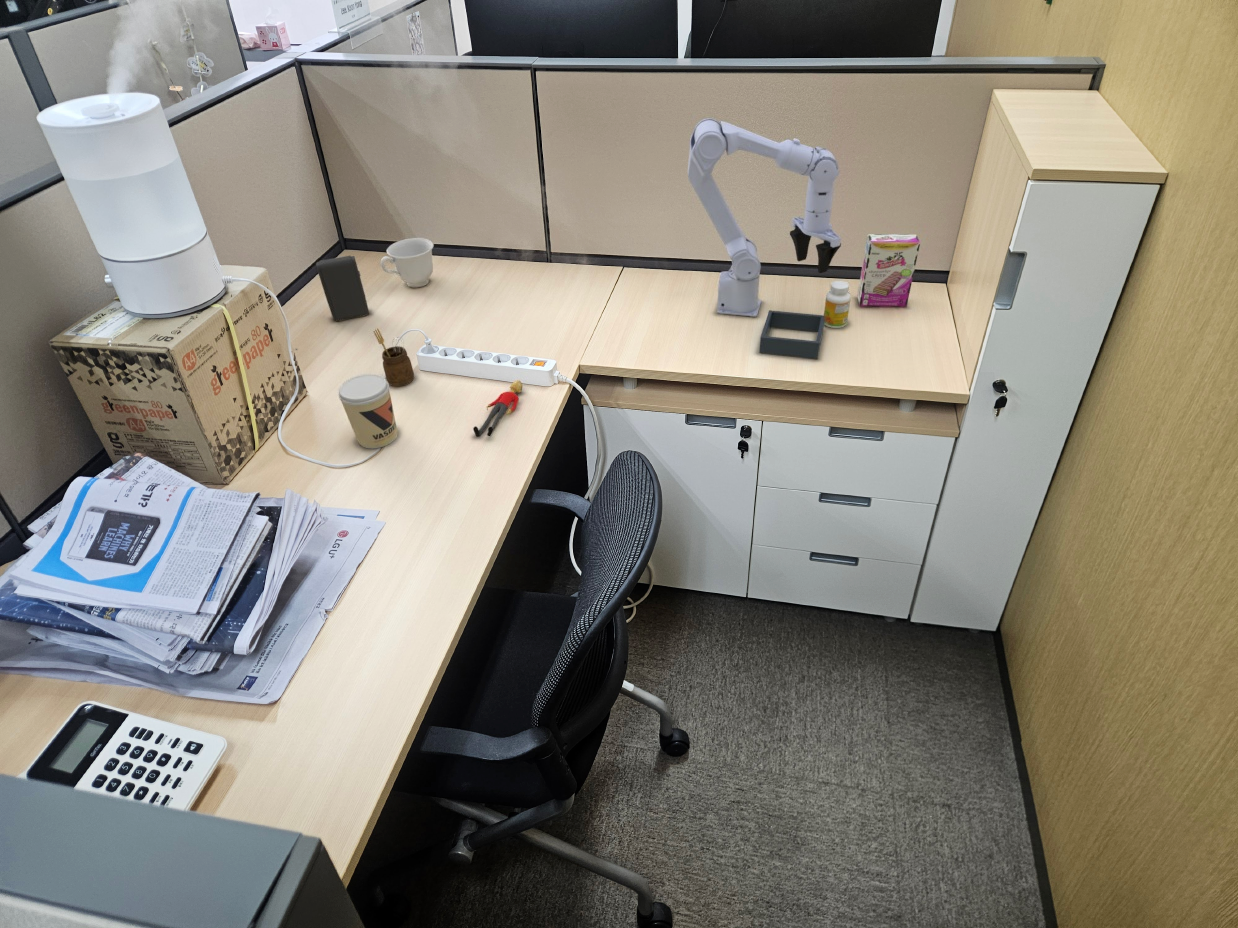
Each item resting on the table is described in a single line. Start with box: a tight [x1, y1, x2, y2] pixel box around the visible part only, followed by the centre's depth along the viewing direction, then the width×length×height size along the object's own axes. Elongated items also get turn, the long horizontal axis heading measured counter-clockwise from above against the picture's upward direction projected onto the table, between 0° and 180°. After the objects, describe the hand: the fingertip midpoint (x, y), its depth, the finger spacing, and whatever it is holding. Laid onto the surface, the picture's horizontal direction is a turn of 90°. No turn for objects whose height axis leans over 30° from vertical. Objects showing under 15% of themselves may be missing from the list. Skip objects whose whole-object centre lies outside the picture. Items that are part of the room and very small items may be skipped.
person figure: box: [472, 379, 523, 438], centre depth 160 cm, size 5×4×18 cm
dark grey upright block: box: [315, 255, 370, 322], centre depth 193 cm, size 9×4×15 cm, turn 108°
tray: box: [758, 309, 825, 360], centre depth 176 cm, size 13×13×4 cm
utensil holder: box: [373, 327, 415, 387], centre depth 169 cm, size 6×6×12 cm
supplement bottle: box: [823, 280, 852, 329], centre depth 180 cm, size 5×5×10 cm
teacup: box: [380, 237, 435, 288], centre depth 207 cm, size 12×15×10 cm
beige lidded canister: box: [338, 373, 398, 449], centre depth 153 cm, size 9×9×12 cm
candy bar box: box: [856, 233, 921, 308], centre depth 184 cm, size 11×5×16 cm, turn 84°
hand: (812, 266), depth 183 cm, fingers open, 7 cm apart
